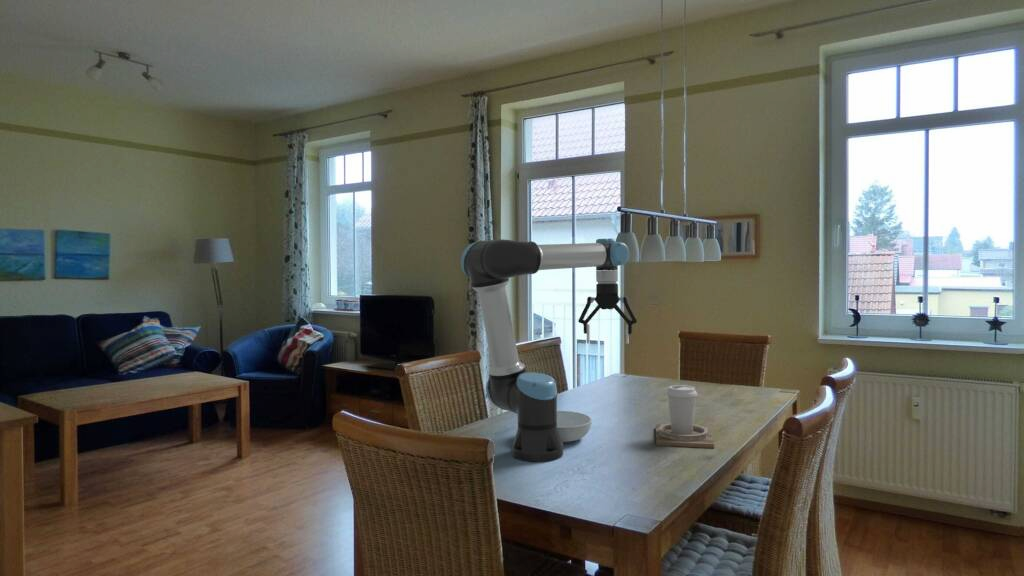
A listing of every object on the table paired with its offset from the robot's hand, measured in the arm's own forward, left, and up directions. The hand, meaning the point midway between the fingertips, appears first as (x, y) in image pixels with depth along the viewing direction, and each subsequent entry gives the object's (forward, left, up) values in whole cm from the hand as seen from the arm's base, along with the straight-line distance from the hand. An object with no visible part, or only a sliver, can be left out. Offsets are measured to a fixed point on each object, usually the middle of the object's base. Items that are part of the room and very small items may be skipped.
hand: (607, 343), depth 213 cm
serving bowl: (-22, +14, -29) cm, 39 cm away
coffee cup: (-14, -24, -27) cm, 39 cm away
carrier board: (-14, -25, -28) cm, 40 cm away
